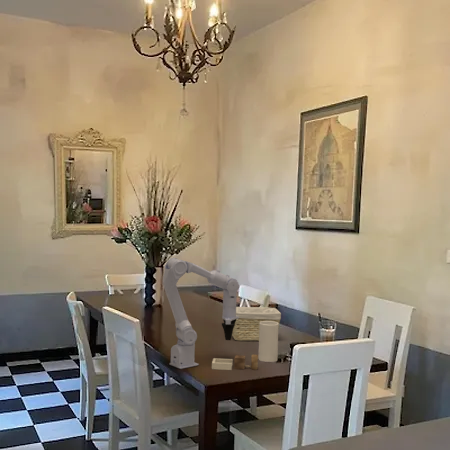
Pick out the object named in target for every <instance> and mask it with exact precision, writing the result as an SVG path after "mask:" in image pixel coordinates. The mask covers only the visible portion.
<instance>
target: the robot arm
mask: <svg viewBox="0 0 450 450" xmlns="http://www.w3.org/2000/svg"><path fill="white" fill-rule="evenodd" d="M163 268H164V272H163V276H162V277H163V278H162V286H163V289H164V291H165V295H166V298H167V300H168V303H169V307H170V310H171V311H172V315H173V318H174V321H175V325H174V326H175V335H176V337H177V342H176V344H175V345H173V346H171V348H170V362H169V365H170V366H172V367H174V368H177V369H180V370H183V369H187V368H192V367H196V366H199V363H197V362H195V351H196V349H195V348H196V344H195V343H196V341H197V338H198V334H197V331H195V329H194V328H193V327H192V324H191V323H190V321H189V319H188V316H187V312H186V310H185V308H184V305H183V301H182V299H181V295H180V292H179V290H178V286H177V284H178V282H179V280H180V279H181V278H182V277H183V276H184V275H185V274H191V273H194V274H196V275H199V276H200V277H203V278H205V279H207V282H208V283H209V284H211V285H214V286H216V287H218V288H220V289H222V290H223V294H222V316H221V318H222V321H223V322H221V327H222V329H223V333H224V339H225V341H231V340H232V337H233V336H232V333H233V328H234V326H235V322H236V319H239V316H236V307H237V298H238V295H237V293H238V291H239V289H240V284H239V282H238V280H237V279H236V278H232V277H230V275H228V274H224V273H222V272H221V271H220V270H219V269H216V270H215V269H212V270H210V271H209V270H207V269H206V268H205V267H202V266H200V265H197V264H196V263H193V262H191V261H187V260H183V259H179V258H176V257H173V258H172V257H171V258H169V260H167V262H166V264H164V267H163Z"/></svg>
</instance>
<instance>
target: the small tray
mask: <svg viewBox="0 0 450 450" xmlns="http://www.w3.org/2000/svg"><path fill="white" fill-rule="evenodd" d="M233 361H234V359H233V358H215V357H214V358H212V361H211V370H220V371H221V370H222V371H232V370H233V369H232V368H233V367H234V366H233V363H234V362H233Z"/></svg>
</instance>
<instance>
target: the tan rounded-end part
mask: <svg viewBox="0 0 450 450" xmlns="http://www.w3.org/2000/svg"><path fill="white" fill-rule="evenodd" d="M250 357H251V360H250V361H251V363H250V364H251V365H248V364H246V355H241V354H240V355H237V354H236V355H235V356H234V357H233V358H234V359H233V361H234V362H233V363H234V366H233V369H234V370H245V368H250V369H251V370H255V371H257V370H258V365H259V364H258V363H259V359H258V357H259V354H254V353H253V354H251V356H250Z"/></svg>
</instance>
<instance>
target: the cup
mask: <svg viewBox="0 0 450 450" xmlns="http://www.w3.org/2000/svg"><path fill="white" fill-rule="evenodd" d="M278 326H279V327H280V322H279V323H278V322H274V321H261V322H260V325H259V341H258V361H260V362H263V363H264V362H266V363H275V362H278V355H279V354H278V353H279V350H278V348H279V347H278V346H279V329H278Z"/></svg>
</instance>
